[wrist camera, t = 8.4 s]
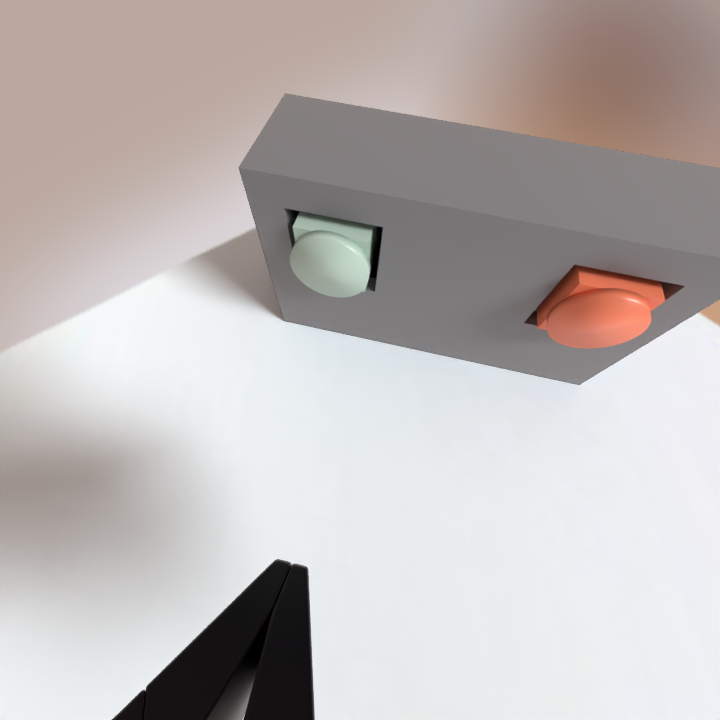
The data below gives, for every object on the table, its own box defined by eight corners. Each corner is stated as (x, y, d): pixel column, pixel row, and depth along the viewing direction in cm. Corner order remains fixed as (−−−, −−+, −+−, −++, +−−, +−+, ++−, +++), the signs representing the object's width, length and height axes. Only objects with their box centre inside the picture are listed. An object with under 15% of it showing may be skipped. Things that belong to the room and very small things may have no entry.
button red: (608, 355, 17) (676, 310, 14) (531, 338, 18) (578, 290, 14) (600, 287, 19) (657, 232, 16) (531, 273, 20) (572, 217, 16)
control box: (579, 384, 23) (771, 267, 13) (283, 320, 24) (238, 167, 14) (573, 313, 25) (728, 169, 15) (308, 259, 27) (285, 93, 17)
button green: (365, 303, 18) (370, 249, 15) (295, 289, 19) (283, 232, 15) (382, 243, 20) (389, 183, 17) (318, 231, 21) (312, 168, 17)
